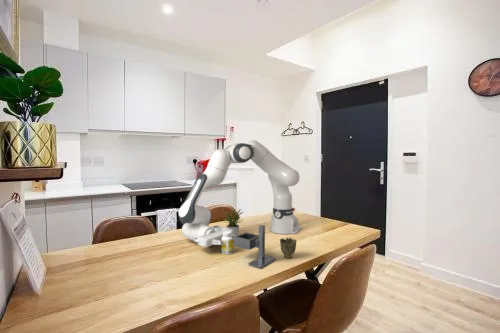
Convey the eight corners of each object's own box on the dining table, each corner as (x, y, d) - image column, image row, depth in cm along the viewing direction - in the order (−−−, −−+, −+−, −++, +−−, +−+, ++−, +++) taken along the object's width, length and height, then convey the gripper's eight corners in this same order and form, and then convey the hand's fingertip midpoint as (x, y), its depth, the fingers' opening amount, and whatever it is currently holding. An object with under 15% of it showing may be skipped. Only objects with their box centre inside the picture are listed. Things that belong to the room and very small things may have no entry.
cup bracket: (247, 252, 128) (248, 219, 127) (275, 259, 119) (275, 224, 118) (231, 260, 118) (231, 224, 118) (260, 269, 109) (260, 230, 109)
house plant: (249, 233, 159) (249, 205, 159) (246, 240, 146) (246, 210, 145) (225, 232, 161) (225, 205, 160) (220, 239, 147) (220, 210, 146)
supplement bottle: (233, 250, 131) (233, 230, 130) (232, 254, 125) (232, 233, 125) (221, 250, 130) (221, 230, 130) (221, 254, 125) (221, 233, 125)
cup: (283, 261, 118) (283, 243, 117) (277, 255, 125) (277, 238, 124) (299, 259, 120) (299, 241, 119) (292, 253, 127) (292, 236, 126)
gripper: (191, 233, 127) (212, 239, 119) (220, 224, 143) (241, 229, 135) (191, 246, 127) (212, 253, 119) (220, 236, 144) (241, 241, 136)
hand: (228, 240), depth 127 cm, fingers open, 8 cm apart
